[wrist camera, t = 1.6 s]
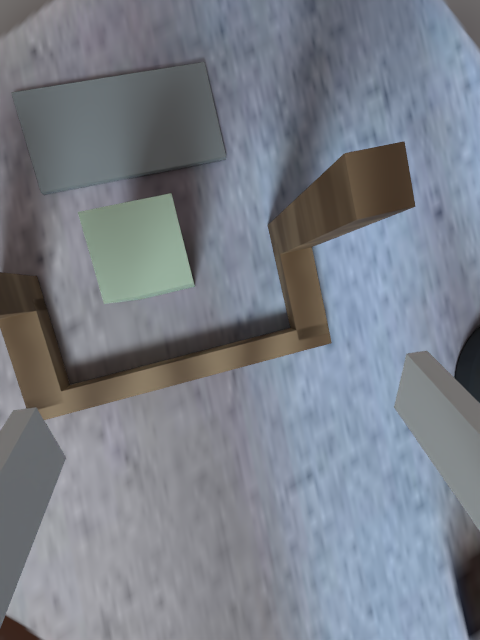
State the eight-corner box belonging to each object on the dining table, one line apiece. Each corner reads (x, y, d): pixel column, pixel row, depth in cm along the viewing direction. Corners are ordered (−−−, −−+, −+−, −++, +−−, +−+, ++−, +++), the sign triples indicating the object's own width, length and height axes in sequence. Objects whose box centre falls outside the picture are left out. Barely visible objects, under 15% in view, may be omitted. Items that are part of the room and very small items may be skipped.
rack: (297, 218, 31) (404, 141, 15) (323, 339, 32) (445, 385, 16) (0, 284, 28) (-254, 273, 12) (42, 414, 29) (-138, 557, 13)
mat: (204, 66, 29) (204, 61, 28) (225, 159, 30) (226, 156, 29) (15, 97, 27) (11, 92, 26) (44, 194, 28) (40, 192, 27)
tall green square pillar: (181, 232, 30) (171, 193, 18) (194, 286, 30) (193, 283, 18) (126, 244, 29) (77, 212, 17) (141, 299, 30) (104, 304, 18)
